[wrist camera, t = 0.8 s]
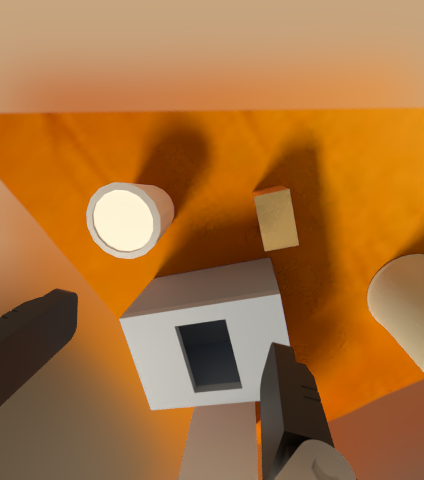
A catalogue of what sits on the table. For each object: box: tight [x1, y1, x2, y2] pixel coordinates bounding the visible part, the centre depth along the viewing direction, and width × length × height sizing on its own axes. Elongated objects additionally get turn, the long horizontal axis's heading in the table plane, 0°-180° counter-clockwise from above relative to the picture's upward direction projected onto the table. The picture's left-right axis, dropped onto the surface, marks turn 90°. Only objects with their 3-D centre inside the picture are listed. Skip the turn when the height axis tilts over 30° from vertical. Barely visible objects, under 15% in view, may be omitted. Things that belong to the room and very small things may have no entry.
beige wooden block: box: [253, 185, 299, 251], centre depth 26 cm, size 3×5×6 cm, turn 13°
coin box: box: [119, 257, 290, 410], centre depth 28 cm, size 14×10×9 cm
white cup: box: [86, 182, 174, 259], centre depth 26 cm, size 7×7×7 cm
